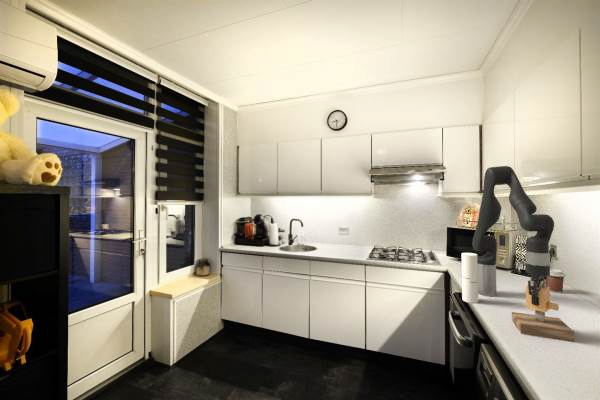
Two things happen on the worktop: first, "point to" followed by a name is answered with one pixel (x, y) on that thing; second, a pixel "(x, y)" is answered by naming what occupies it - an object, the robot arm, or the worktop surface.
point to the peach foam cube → (541, 300)
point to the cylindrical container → (469, 278)
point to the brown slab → (542, 326)
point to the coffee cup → (555, 280)
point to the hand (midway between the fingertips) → (538, 303)
